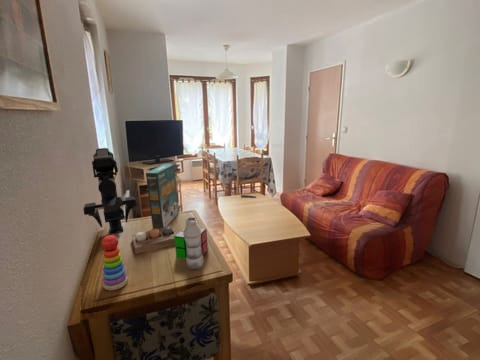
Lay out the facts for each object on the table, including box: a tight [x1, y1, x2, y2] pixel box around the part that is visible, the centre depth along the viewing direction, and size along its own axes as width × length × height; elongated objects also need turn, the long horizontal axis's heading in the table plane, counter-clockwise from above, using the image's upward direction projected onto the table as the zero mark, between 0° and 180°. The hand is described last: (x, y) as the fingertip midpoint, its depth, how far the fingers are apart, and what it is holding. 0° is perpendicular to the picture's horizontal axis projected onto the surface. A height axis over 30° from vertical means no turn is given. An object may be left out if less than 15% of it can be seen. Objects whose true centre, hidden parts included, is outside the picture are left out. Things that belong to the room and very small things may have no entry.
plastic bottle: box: [183, 217, 204, 270], centre depth 97 cm, size 6×7×20 cm
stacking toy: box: [101, 234, 129, 291], centre depth 88 cm, size 8×8×19 cm
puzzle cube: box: [174, 226, 209, 260], centre depth 108 cm, size 10×10×10 cm
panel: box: [131, 225, 178, 255], centre depth 120 cm, size 14×19×3 cm
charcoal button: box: [163, 225, 173, 236], centre depth 122 cm, size 4×4×3 cm
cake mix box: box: [145, 163, 180, 229], centre depth 140 cm, size 22×6×30 cm, turn 172°
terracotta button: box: [149, 228, 160, 239], centre depth 119 cm, size 4×4×3 cm
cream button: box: [135, 231, 147, 242], centre depth 116 cm, size 4×4×3 cm
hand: (114, 224), depth 105 cm, fingers open, 9 cm apart
